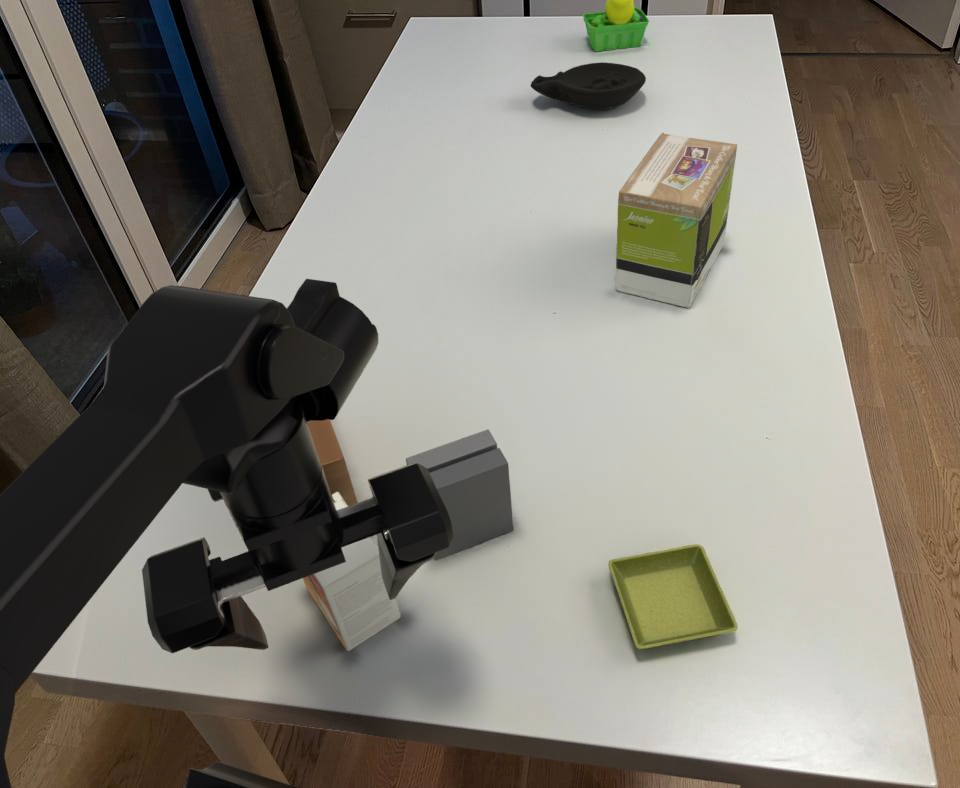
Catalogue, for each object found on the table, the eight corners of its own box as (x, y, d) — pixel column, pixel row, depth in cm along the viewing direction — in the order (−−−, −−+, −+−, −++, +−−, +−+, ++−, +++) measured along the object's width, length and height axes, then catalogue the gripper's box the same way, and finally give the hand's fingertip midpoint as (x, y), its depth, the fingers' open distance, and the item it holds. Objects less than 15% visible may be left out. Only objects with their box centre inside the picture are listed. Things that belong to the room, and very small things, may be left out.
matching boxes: (306, 553, 76) (276, 481, 68) (272, 437, 87) (243, 364, 79) (366, 531, 77) (344, 457, 69) (325, 420, 88) (302, 345, 81)
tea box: (652, 229, 109) (661, 128, 99) (725, 245, 106) (742, 142, 95) (612, 292, 100) (617, 188, 90) (689, 311, 97) (704, 205, 86)
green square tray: (699, 555, 72) (701, 542, 71) (736, 642, 66) (740, 629, 65) (606, 572, 72) (607, 560, 70) (635, 662, 66) (636, 649, 64)
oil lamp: (532, 86, 145) (531, 58, 141) (640, 81, 143) (642, 53, 139) (530, 124, 134) (529, 96, 131) (647, 119, 132) (649, 90, 129)
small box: (306, 589, 73) (277, 521, 66) (359, 557, 75) (337, 488, 68) (347, 654, 68) (320, 589, 61) (403, 618, 70) (383, 551, 63)
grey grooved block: (435, 560, 74) (421, 494, 67) (419, 524, 77) (405, 458, 70) (513, 530, 76) (508, 463, 69) (495, 496, 79) (488, 428, 72)
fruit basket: (637, 33, 158) (641, -28, 150) (650, 50, 152) (654, -13, 144) (581, 40, 158) (582, -21, 150) (591, 58, 151) (593, -5, 143)
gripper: (385, 345, 53) (416, 491, 64) (95, 437, 49) (182, 576, 60) (443, 460, 45) (467, 604, 56) (106, 581, 41) (202, 710, 52)
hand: (328, 618), depth 56 cm, fingers open, 9 cm apart
